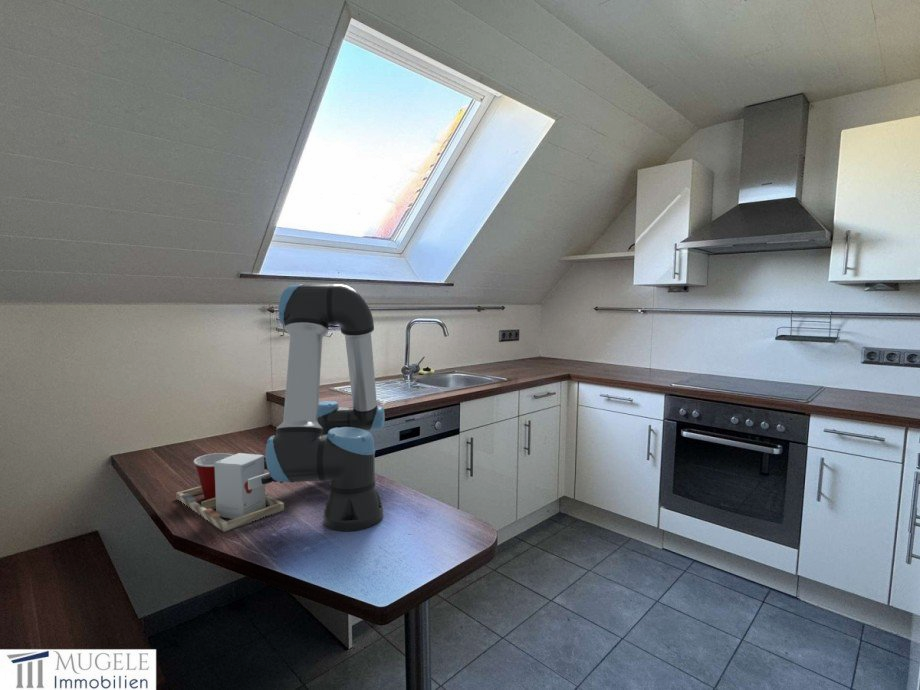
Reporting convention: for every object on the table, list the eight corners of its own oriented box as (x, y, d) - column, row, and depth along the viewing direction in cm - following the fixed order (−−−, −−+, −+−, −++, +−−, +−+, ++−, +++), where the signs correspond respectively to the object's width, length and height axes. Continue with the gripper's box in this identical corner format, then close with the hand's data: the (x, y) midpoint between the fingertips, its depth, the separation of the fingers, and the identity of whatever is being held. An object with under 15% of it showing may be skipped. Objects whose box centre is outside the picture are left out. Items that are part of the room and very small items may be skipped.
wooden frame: (284, 510, 126) (283, 499, 126) (222, 532, 114) (221, 520, 114) (232, 483, 147) (232, 474, 147) (175, 499, 135) (175, 489, 134)
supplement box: (243, 521, 120) (240, 465, 119) (215, 517, 122) (212, 462, 121) (267, 507, 128) (264, 454, 127) (240, 503, 131) (238, 452, 130)
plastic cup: (219, 506, 129) (217, 464, 128) (186, 503, 131) (184, 462, 131) (245, 491, 140) (243, 452, 139) (214, 489, 142) (212, 451, 141)
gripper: (329, 478, 134) (261, 503, 117) (278, 463, 148) (211, 483, 131) (328, 452, 133) (260, 474, 116) (277, 440, 148) (210, 457, 130)
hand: (234, 479), depth 124 cm, fingers open, 13 cm apart
